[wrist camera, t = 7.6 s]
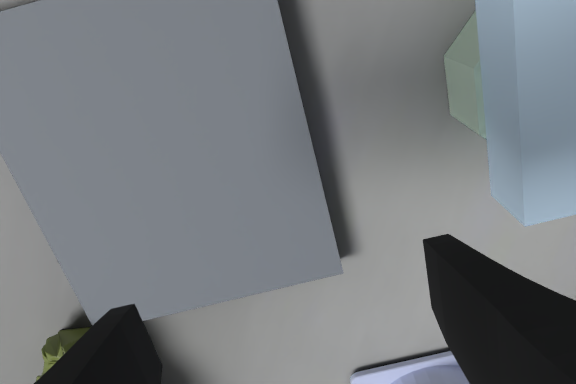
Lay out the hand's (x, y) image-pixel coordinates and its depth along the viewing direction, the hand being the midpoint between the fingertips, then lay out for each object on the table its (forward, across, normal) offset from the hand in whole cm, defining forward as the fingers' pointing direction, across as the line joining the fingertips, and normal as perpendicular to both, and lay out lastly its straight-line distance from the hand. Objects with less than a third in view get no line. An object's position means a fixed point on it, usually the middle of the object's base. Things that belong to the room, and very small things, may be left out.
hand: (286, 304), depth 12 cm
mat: (+10, +4, -1) cm, 11 cm away
